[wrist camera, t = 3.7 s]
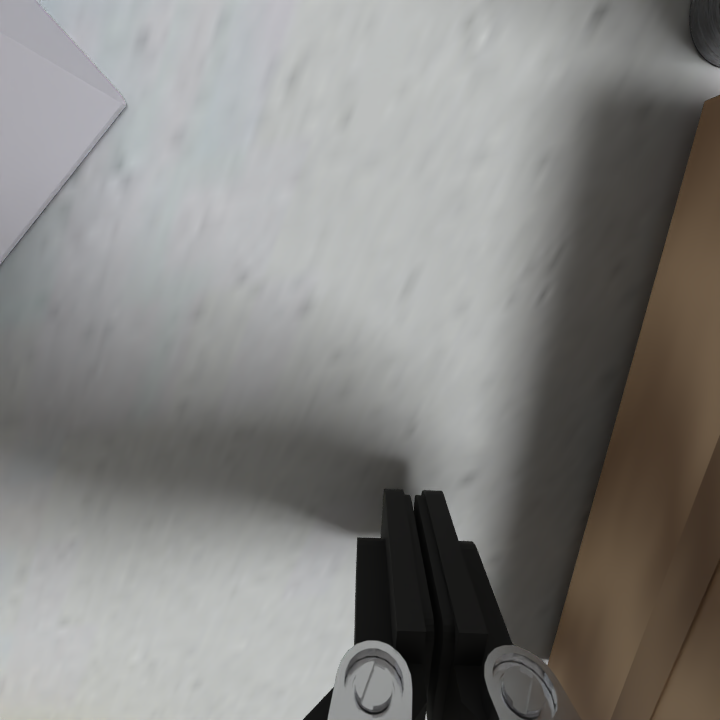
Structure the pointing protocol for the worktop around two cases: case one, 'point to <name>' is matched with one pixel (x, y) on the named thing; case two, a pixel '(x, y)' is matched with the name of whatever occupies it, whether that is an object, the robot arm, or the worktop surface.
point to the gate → (659, 493)
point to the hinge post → (706, 28)
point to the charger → (44, 113)
